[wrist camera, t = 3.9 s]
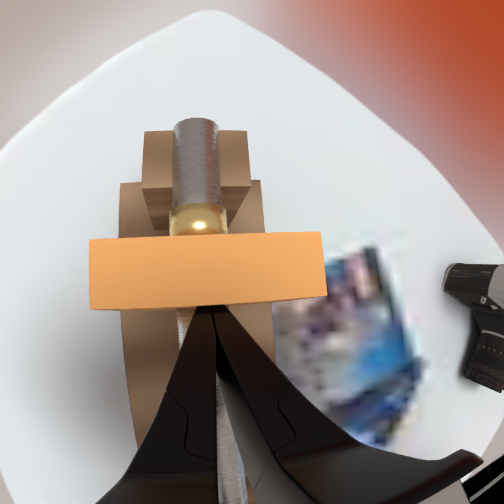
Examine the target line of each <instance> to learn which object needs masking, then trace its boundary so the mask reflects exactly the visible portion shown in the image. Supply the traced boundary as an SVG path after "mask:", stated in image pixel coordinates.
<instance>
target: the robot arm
mask: <svg viewBox="0 0 504 504" xmlns="http://www.w3.org/2000/svg"><path fill="white" fill-rule="evenodd" d="M216 374H217V378H218V382H219V385H220V389H221V393H222V396H223V400H224V403H225V407H226V410H227V413H228V417H229V420H230V423H231V427H232V430H233V433H234V437H235V440H236V443H237V446H238V449H239V453H240V456H241V459H242V462H243V465H244V468H245V471H246V474H247V477H248V480H249V483H250V486H251V489H252V492H253V495H254V498H255V501H256V503H257V504H504V454H503V455H501V456H500V457H498V458H497V459H495V460H494V461H493V462H491V463H490V464H488V465H487V466H486V467H484V468H483V469H481V470H480V471H478V472H477V473H476V474H474V475H473V476H471V477H470V478H468V479H467V480H465V481H464V482H461V480H460V479H461V478H462V477H464V476H465V475H467V474H468V473H470V472H471V471H473V470H474V469H475V468H477V467H478V466H480V465H481V464H482V463H483V462H484V461H483V460H482V459H481V458H480V457H479V456H478V455H476V454H474V453H472V452H469V451H466V450H463V449H460V450H458V451H456V452H454V453H452V454H451V455H449V456H447V457H445V458H443V459H440V460H422V459H417V458H413V457H408V456H404V455H400V454H396V453H392V452H388V451H384V450H381V449H377V448H373V447H370V446H368V445H365V444H363V443H361V442H359V441H358V440H356V439H354V438H353V437H352V436H350V435H349V434H348V433H347V432H345V431H344V430H343V429H342V428H340V427H339V426H338V425H337V424H336V423H334V422H333V421H332V420H331V419H329V418H328V417H327V416H326V415H325V414H323V413H322V412H321V411H320V410H319V409H318V408H317V407H315V406H314V405H313V404H312V403H311V402H310V401H309V400H308V399H307V398H306V397H305V396H304V395H303V394H302V393H301V392H300V391H299V390H298V389H297V388H296V387H295V386H294V385H293V383H292V382H291V381H290V380H287V379H288V378H287V377H286V376H285V375H284V373H283V372H282V371H281V370H280V369H279V368H278V367H277V365H276V364H275V363H274V362H273V361H272V360H271V359H270V357H269V356H268V355H267V354H266V353H265V352H264V351H263V349H262V348H261V347H260V346H259V345H258V344H257V342H256V341H255V340H254V339H253V338H252V337H251V335H250V334H249V333H248V332H247V331H246V329H245V328H244V327H243V326H242V325H241V323H240V322H239V321H238V320H237V319H236V317H235V316H234V315H233V314H232V313H231V311H230V310H229V309H228V308H227V307H226V306H225V305H224V304H221V305H211V307H210V305H205V306H197V307H196V308H195V311H194V314H193V316H192V319H191V322H190V324H189V327H188V329H187V332H186V335H185V337H184V340H183V343H182V345H181V348H180V351H179V353H178V356H177V359H176V362H175V364H174V367H173V370H172V372H171V375H170V378H169V381H168V383H167V386H166V389H165V392H164V394H163V397H162V400H161V402H160V405H159V407H158V410H157V412H156V415H155V417H154V419H153V421H152V423H151V426H150V428H149V430H148V432H147V434H146V435H145V437H144V439H143V441H142V443H141V445H140V447H139V449H138V450H137V452H136V454H135V456H134V458H133V460H132V462H131V464H130V465H129V467H128V469H127V470H126V472H125V474H124V475H123V476H122V478H121V479H120V480H119V482H118V483H117V484H116V485H115V486H114V487H113V488H111V489H110V490H109V491H108V492H107V493H106V494H105V495H104V496H103V497H102V498H101V499H100V500H99V501H98V502H96V503H95V504H219V491H218V463H217V404H216Z"/></svg>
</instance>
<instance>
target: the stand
mask: <svg viewBox="0 0 504 504" xmlns="http://www.w3.org/2000/svg"><path fill="white" fill-rule="evenodd" d="M219 149H220V171H221V190H222V206H223V207H224V208H225V209H226V217H227V233H228V234H244V233H265V228H264V217H263V206H262V195H261V185H260V180H251V176H250V164H249V152H248V141H247V131H231V130H219ZM172 160H173V131H148V132H145V134H144V148H143V165H142V182H135V183H121V184H120V204H119V238H136V237H159V236H169V211H170V210H171V209H172ZM229 310H230V311H231V313H232V314H233V315H234V316H235V317H236V319H237V320H238V321H239V322H240V323H241V325H242V326H243V327H244V328H245V329H246V331H247V332H248V333H249V334H250V335H251V337H252V338H253V339H254V340H255V341H256V342H257V344H258V345H259V346H260V347H261V348H262V349H263V351H264V352H265V353H266V354H267V355H268V356H269V357H270V359H271V360H272V361H273V362H274V363H275V364H276V360H275V347H274V334H273V322H272V309H271V303H265V304H252V305H239V306H229ZM120 312H121V327H122V339H123V350H124V360H125V369H126V378H127V385H128V393H129V400H130V406H131V413H132V419H133V425H134V430H135V436H136V441H137V446H138V449H139V447H140V445H141V443H142V441H143V439H144V437H145V435H146V434H147V432H148V430H149V428H150V426H151V423H152V421H153V419H154V417H155V415H156V412H157V410H158V407H159V405H160V402H161V400H162V397H163V394H164V392H165V389H166V386H167V383H168V381H169V378H170V375H171V372H172V370H173V367H174V364H175V362H176V359H177V356H178V353H179V351H180V349H179V337H178V325H177V311H176V309H170V310H146V311H120ZM244 472H245V481H246V490H247V498H248V504H257V503H256V501H255V498H254V495H253V492H252V489H251V486H250V483H249V480H248V477H247V474H246V471H245V468H244Z"/></svg>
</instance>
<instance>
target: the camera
mask: <svg viewBox="0 0 504 504" xmlns="http://www.w3.org/2000/svg"><path fill="white" fill-rule="evenodd" d="M442 288H443V291H445V292H446V293H448V294H449V295H451V296H452V297H454V298H455V299H457V300H458V301H459V302H461V303H462V304H464V305H465V306H467V307H468V308H469V309H471V310H472V311H473V314H474V316H475V319H476V322H477V325H478V328H479V331H480V332H481V335H480V338H479V340H478V342H477V346H476V348H475V349H476V351H475V353H474V355H473V357H472V359H471V361H470V362H469V364H468V365H469V366H468V369H467V370H466V372H465V373H466V375H465V378H468V379H470V380H472V381H474V382H476V383H478V384H481V385H483V386H485V387H487V388H490V389H492V390H494V391H496V392H499V393H501V392H502V390H504V264H501V265H490V264H463V263H454V264H453V265H452V266H451V267H450V268H449V269H448V270H447V273H446V275H445V278H444V281H443V284H442Z"/></svg>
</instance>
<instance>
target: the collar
mask: <svg viewBox="0 0 504 504" xmlns="http://www.w3.org/2000/svg"><path fill="white" fill-rule="evenodd" d="M89 293H90V310H117V311H146V310H170V309H176V308H188V307H197V306H205V305H210V306H211V305H221V304H224V305H229V306H239V305H252V304H265V303H273V302H281V301H290V300H298V299H305V298H313V297H320V296H327V287H326V277H325V268H324V258H323V250H322V241H321V233H320V232H280V233H244V234H212V235H184V236H159V237H136V238H114V239H94V240H89Z"/></svg>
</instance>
